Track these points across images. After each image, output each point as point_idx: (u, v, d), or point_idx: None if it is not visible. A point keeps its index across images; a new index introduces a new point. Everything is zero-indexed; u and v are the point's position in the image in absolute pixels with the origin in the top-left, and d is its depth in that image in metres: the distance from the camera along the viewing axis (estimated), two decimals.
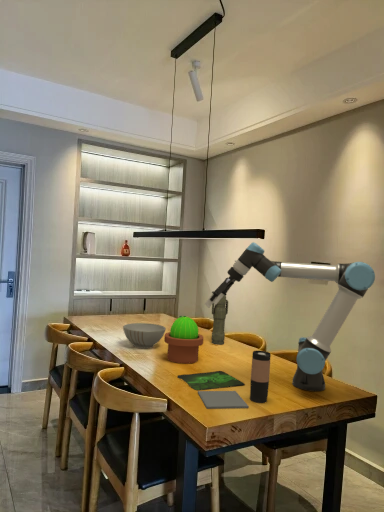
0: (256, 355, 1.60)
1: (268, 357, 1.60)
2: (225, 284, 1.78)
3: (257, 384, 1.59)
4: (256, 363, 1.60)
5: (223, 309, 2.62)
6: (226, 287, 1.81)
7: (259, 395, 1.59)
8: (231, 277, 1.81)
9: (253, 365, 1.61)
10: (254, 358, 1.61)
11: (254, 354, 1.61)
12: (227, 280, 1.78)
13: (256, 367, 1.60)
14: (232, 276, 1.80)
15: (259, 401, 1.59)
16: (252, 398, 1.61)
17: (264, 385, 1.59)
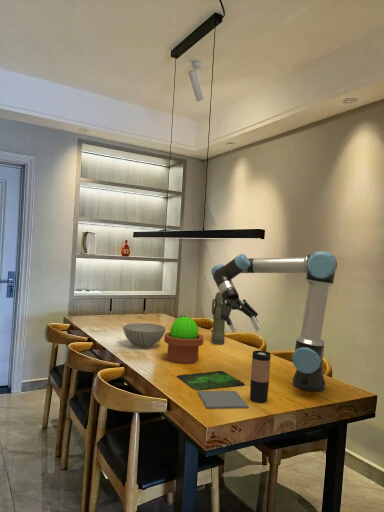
0: (256, 355, 1.60)
1: (268, 357, 1.60)
2: (222, 305, 1.76)
3: (257, 384, 1.59)
4: (256, 363, 1.60)
5: None
6: (230, 306, 1.76)
7: (259, 395, 1.59)
8: (225, 299, 1.80)
9: (253, 365, 1.61)
10: (254, 358, 1.61)
11: (254, 354, 1.61)
12: (221, 302, 1.78)
13: (256, 367, 1.60)
14: (225, 297, 1.81)
15: (259, 401, 1.59)
16: (252, 398, 1.61)
17: (264, 385, 1.59)
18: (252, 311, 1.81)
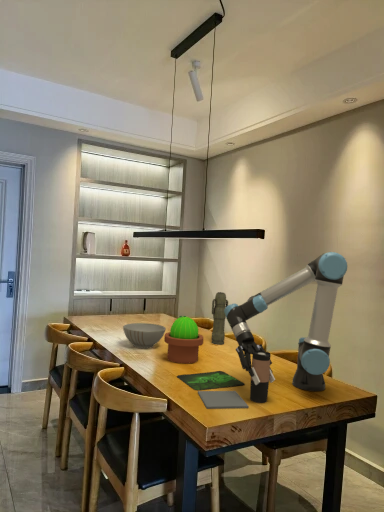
0: (256, 355, 1.60)
1: (268, 357, 1.60)
2: (240, 353, 1.65)
3: (257, 384, 1.59)
4: (256, 363, 1.60)
5: (223, 309, 2.62)
6: (247, 353, 1.65)
7: (259, 395, 1.59)
8: (240, 343, 1.69)
9: (253, 365, 1.61)
10: (254, 358, 1.61)
11: (254, 354, 1.61)
12: (237, 349, 1.66)
13: (256, 367, 1.60)
14: (239, 341, 1.70)
15: (259, 401, 1.59)
16: (252, 398, 1.61)
17: (263, 385, 1.59)
18: None
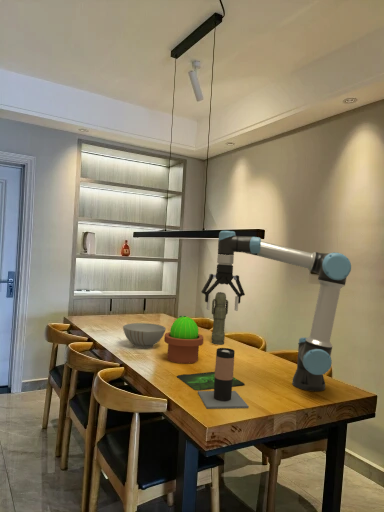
0: (219, 352, 1.57)
1: (231, 354, 1.57)
2: (208, 279, 1.77)
3: (220, 382, 1.56)
4: (219, 361, 1.57)
5: (223, 309, 2.62)
6: (215, 283, 1.77)
7: (222, 393, 1.56)
8: (216, 272, 1.78)
9: (216, 363, 1.58)
10: (217, 355, 1.58)
11: (217, 351, 1.58)
12: (209, 275, 1.78)
13: (219, 364, 1.57)
14: None
15: (222, 399, 1.56)
16: (215, 396, 1.58)
17: (227, 383, 1.56)
18: (240, 290, 1.80)
